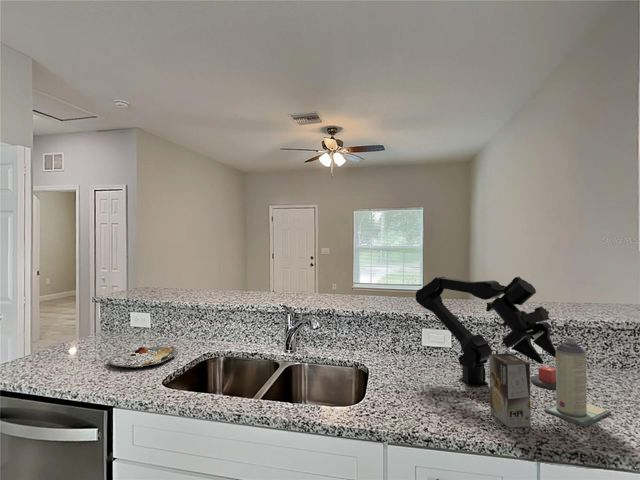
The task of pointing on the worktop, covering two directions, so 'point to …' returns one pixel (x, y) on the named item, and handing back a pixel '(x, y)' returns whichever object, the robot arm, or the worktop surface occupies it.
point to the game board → (592, 416)
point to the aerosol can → (571, 379)
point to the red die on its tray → (542, 384)
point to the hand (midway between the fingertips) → (549, 359)
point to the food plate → (161, 355)
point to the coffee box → (510, 390)
